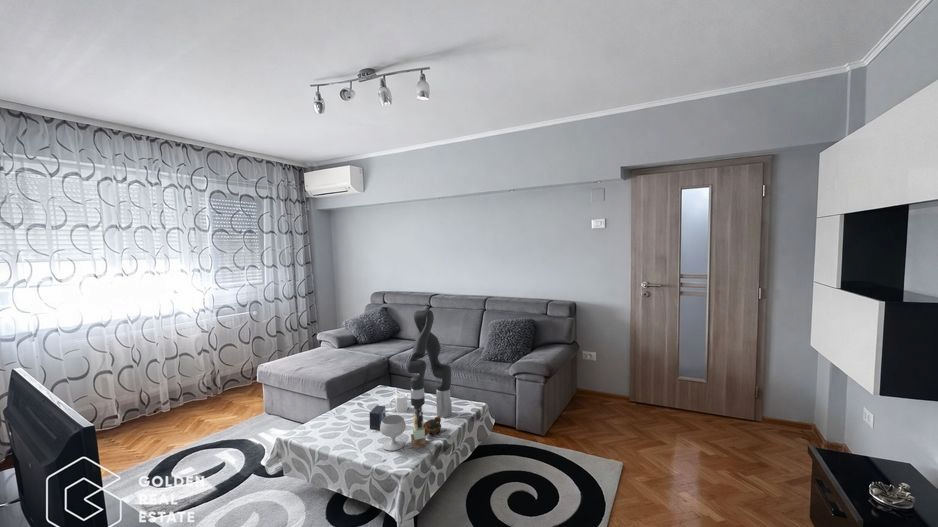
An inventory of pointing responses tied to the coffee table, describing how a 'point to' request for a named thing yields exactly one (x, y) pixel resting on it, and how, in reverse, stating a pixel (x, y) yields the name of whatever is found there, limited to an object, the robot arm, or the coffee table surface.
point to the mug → (400, 402)
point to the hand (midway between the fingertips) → (418, 425)
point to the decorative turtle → (432, 426)
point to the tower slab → (418, 442)
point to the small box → (377, 417)
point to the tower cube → (418, 433)
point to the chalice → (393, 431)
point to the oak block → (416, 422)
